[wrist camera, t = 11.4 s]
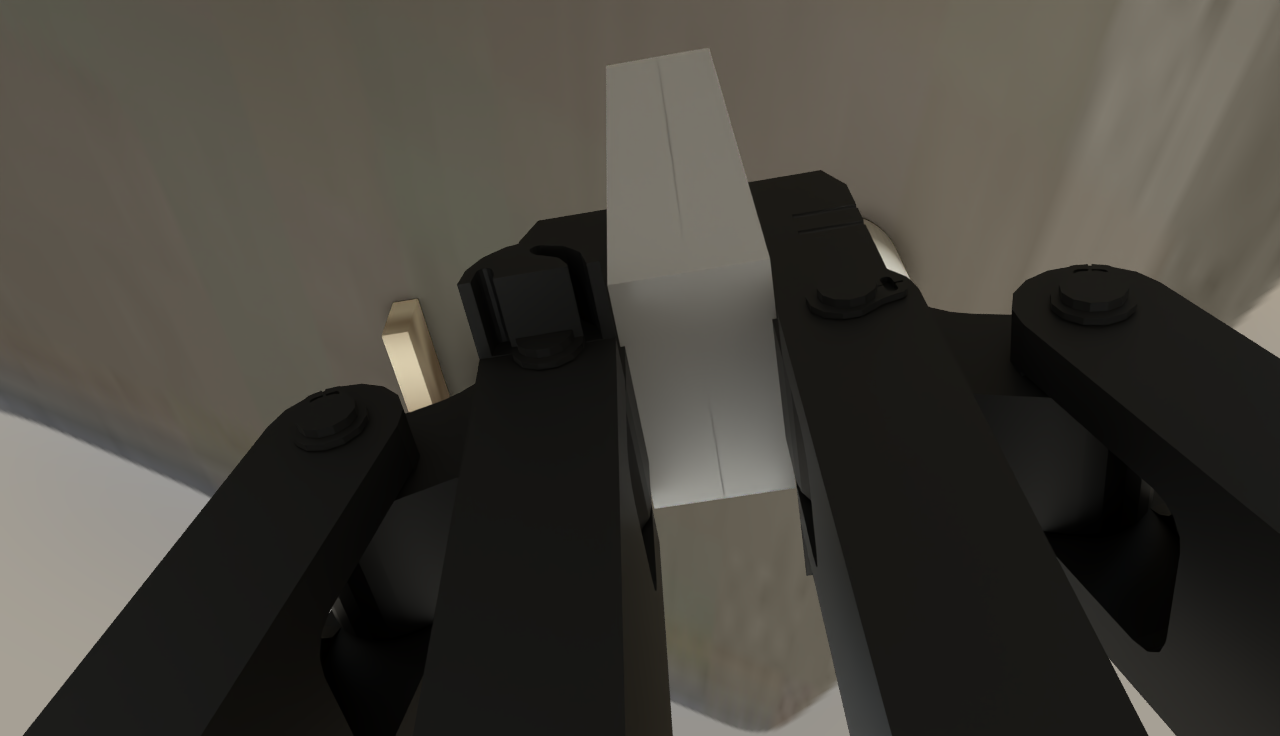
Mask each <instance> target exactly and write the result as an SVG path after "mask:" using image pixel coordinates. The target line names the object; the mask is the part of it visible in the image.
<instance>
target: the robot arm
mask: <svg viewBox="0 0 1280 736" xmlns="http://www.w3.org/2000/svg"><path fill="white" fill-rule="evenodd" d="M606 146H607V209H606V210H600V211H594V212H588V213H582V214H576V215H570V216H564V217H558V218H552V219H546V220H540V221H538V222H537V223H536V224H535V225H534V226H533V227H532V228H531V229H530V230H529V232H528V233H527V234H526V235H525V236H524V237H523V238H522V239H521V241H520V242H519V244H517V245H513V246H509V247H505V248H503V249H501V250H499V251H496V252H494V253H492V254H490V255H488V256H485V257H483V258H482V259H480V260H479V261H478V262H476V263H475V264H474V265H472V266H471V267H470V268H469V269H467V270H466V271H465V272H464V274H463V276H462V277H461V279H460V281H459V282H458V284H457V286H458V289H459V292H460V296H461V299H462V302H463V306H464V309H465V312H466V316H467V319H468V322H469V326H470V329H471V332H472V336H473V339H474V342H475V346H476V349H477V352H478V356H479V359H480V361H479V366H478V372H477V378H476V383H475V384H474V385H472V386H471V387H469V388H467V389H466V390H464V391H462V392H461V393H459V394H456V395H454V396H452V397H449V398H447V399H445V400H442V401H440V402H437V403H434V404H431V405H428V406H426V407H423V408H420V409H417V410H414V411H412V412H409V413H406V414H405V412H404V410H403V407H402V404H401V402H400V399H399V396H398V395H397V394H395V393H394V392H392V391H390V390H389V389H387V388H385V387H384V386H376V385H367V384H357V385H349V386H337V387H333V388H329V389H325V391H324V392H322V391H320V392H317V393H315V394H312V395H310V396H308V397H307V398H305V399H304V400H302V401H301V402H299V403H297V404H295V405H294V406H292V407H290V408H289V409H287V410H285V411H284V412H283V413H282V414H281V415H280V416H279V417H278V418H277V419H276V420H275V421H273V422H272V423H271V424H270V425H269V426H268V427H267V428H266V430H265V431H264V432H263V434H262V435H261V436H260V437H259V439H258V440H257V441H256V442H255V444H254V445H253V446H252V447H251V449H250V450H249V451H248V452H247V454H246V455H245V456H244V457H243V459H242V460H241V461H240V463H239V464H238V465H237V466H236V468H235V469H234V470H233V471H232V473H231V474H230V475H229V476H228V478H227V479H226V480H225V481H224V483H223V484H222V485H221V486H220V488H219V489H218V490H217V491H216V493H215V494H214V495H213V497H212V498H211V499H210V500H209V502H208V503H207V504H206V506H205V507H204V508H203V509H202V510H201V512H200V513H199V514H198V515H197V517H196V518H195V519H194V521H193V522H192V523H191V524H190V526H189V527H188V528H187V530H186V531H185V532H184V533H183V534H182V536H181V537H180V538H179V539H178V541H177V542H176V543H175V544H174V546H173V547H172V548H171V550H170V551H169V552H168V553H167V555H166V556H165V557H164V558H163V560H162V561H161V562H160V563H159V565H158V566H157V567H156V568H155V570H154V571H153V572H152V573H151V575H150V576H149V577H148V578H147V580H146V581H145V582H144V583H143V585H142V586H141V587H140V589H139V590H138V591H137V592H136V594H135V595H134V596H133V597H132V599H131V600H130V601H129V602H128V604H127V605H126V606H125V607H124V609H123V610H122V611H121V612H120V614H119V615H118V616H117V617H116V619H115V620H114V621H113V623H112V624H111V625H110V626H109V628H108V629H107V630H106V631H105V633H104V634H103V635H102V636H101V638H100V639H99V641H97V643H96V644H95V645H94V646H93V648H92V649H91V650H90V652H89V653H88V654H87V655H86V657H85V658H84V659H83V660H82V662H81V663H80V664H79V665H78V667H77V668H76V669H75V670H74V672H73V673H72V674H71V675H70V677H69V678H68V679H67V681H66V682H65V683H64V685H63V686H62V687H61V688H60V690H59V691H58V692H57V693H56V695H55V696H54V697H53V698H52V699H51V701H50V702H49V703H48V705H47V706H46V707H45V708H44V710H43V711H42V712H41V713H40V715H39V716H38V717H37V719H36V720H35V721H34V722H33V723H32V725H31V726H30V727H29V728H28V730H27V731H26V732H25V733H24V735H23V736H673V734H672V720H671V719H672V718H671V704H670V689H669V675H668V660H667V646H666V631H665V617H664V602H663V588H662V573H661V559H660V544H659V538H658V533H657V529H656V524H655V519H654V515H653V510H652V505H651V494H652V499H653V503H654V508H655V509H656V508H663V507H669V506H676V505H683V504H690V503H696V502H703V501H710V500H717V499H723V498H730V497H737V496H744V495H751V494H757V493H764V492H771V491H778V490H784V489H791V488H796V486H795V478H796V485H797V494H798V503H799V512H800V521H801V530H802V539H803V548H804V557H805V566H806V575H807V576H808V575H813V577H814V581H815V586H816V590H817V594H818V599H819V603H820V607H821V612H822V616H823V620H824V625H825V629H826V633H827V638H828V642H829V647H830V651H831V655H832V660H833V664H834V668H835V673H836V677H837V681H838V686H839V690H840V694H841V698H842V703H843V707H844V712H845V716H846V720H847V725H848V729H849V733H850V736H1148V734H1147V732H1146V730H1145V728H1144V726H1143V724H1142V722H1141V721H1140V718H1139V716H1138V715H1137V713H1136V711H1135V709H1134V707H1133V705H1132V703H1131V701H1130V699H1129V697H1128V695H1127V693H1126V691H1125V689H1124V687H1123V685H1122V683H1121V681H1120V680H1119V678H1118V676H1117V674H1116V672H1115V670H1114V668H1113V666H1112V664H1111V662H1110V660H1111V661H1112V662H1113V663H1114V665H1115V666H1116V667H1117V668H1118V669H1119V670H1120V672H1121V673H1122V674H1123V675H1124V676H1125V677H1126V678H1127V680H1128V681H1129V682H1130V683H1131V684H1132V685H1133V686H1134V688H1135V689H1136V690H1137V691H1138V692H1139V693H1140V695H1142V697H1143V698H1144V699H1145V700H1146V701H1147V703H1148V704H1149V705H1150V706H1151V707H1152V708H1153V709H1154V711H1155V712H1156V713H1157V714H1158V715H1159V716H1160V718H1161V719H1162V720H1163V721H1164V722H1165V723H1166V724H1167V725H1168V727H1169V728H1170V729H1171V730H1172V731H1173V732H1174V734H1175V735H1176V736H1280V358H1278V357H1277V356H1275V355H1273V354H1272V353H1270V352H1269V351H1267V350H1266V349H1264V348H1262V347H1261V346H1259V345H1258V344H1256V343H1255V342H1253V341H1251V340H1250V339H1248V338H1247V337H1245V336H1244V335H1242V334H1240V333H1239V332H1237V331H1236V330H1234V329H1233V328H1231V327H1230V326H1228V325H1226V324H1225V323H1223V322H1222V321H1220V320H1219V319H1217V318H1215V317H1214V316H1212V315H1211V314H1209V313H1208V312H1206V311H1204V310H1203V309H1201V308H1200V307H1198V306H1197V305H1195V304H1193V303H1192V302H1190V301H1189V300H1187V299H1186V298H1184V297H1182V296H1181V295H1179V294H1178V293H1176V292H1175V291H1173V290H1171V289H1170V288H1168V287H1167V286H1165V285H1164V284H1162V283H1160V282H1158V281H1156V280H1154V279H1152V278H1149V277H1147V276H1145V275H1143V274H1140V273H1138V272H1135V271H1130V270H1125V269H1120V268H1115V267H1111V266H1108V265H1096V264H1092V266H1088V264H1084V265H1073V266H1070V267H1066V268H1060V269H1055V270H1049V271H1046V272H1044V273H1041V274H1039V275H1037V276H1035V277H1033V278H1030V279H1028V280H1026V281H1025V282H1024V283H1023V284H1022V285H1021V286H1020V287H1019V288H1018V289H1017V290H1016V291H1015V292H1014V293H1013V302H1012V315H998V314H968V313H956V312H948V311H944V310H939V309H935V308H930V307H928V306H927V304H926V302H925V300H924V298H923V296H922V294H921V292H920V290H919V288H918V287H917V286H916V285H915V284H914V283H913V282H912V281H911V280H910V279H909V278H908V277H907V276H904V275H902V274H899V273H897V272H894V271H892V270H889V269H887V268H886V266H885V263H884V261H883V259H882V257H881V255H880V253H879V251H878V249H877V247H876V245H875V243H874V241H873V239H872V237H871V235H870V232H869V230H868V228H867V226H866V224H864V220H863V218H862V216H861V214H860V212H859V210H858V208H856V203H855V201H854V199H853V197H852V195H851V193H850V191H849V189H848V187H847V185H846V184H845V183H843V182H841V181H839V180H837V179H836V178H834V177H832V176H830V175H829V174H827V173H825V172H823V171H821V170H819V171H813V172H808V173H802V174H796V175H790V176H784V177H778V178H772V179H766V180H760V181H754V182H748V181H747V177H746V174H745V170H744V167H743V164H742V160H741V157H740V153H739V150H738V146H737V143H736V139H735V136H734V132H733V129H732V125H731V122H730V119H729V115H728V112H727V108H726V105H725V101H724V98H723V94H722V91H721V87H720V84H719V80H718V77H717V73H716V70H715V67H714V63H713V60H712V56H711V53H710V49H709V48H704V49H698V50H692V51H687V52H681V53H675V54H670V55H664V56H658V57H653V58H647V59H641V60H636V61H630V62H625V63H619V64H613V65H608V66H606ZM794 474H795V477H794ZM331 609H332V610H331ZM330 610H331V611H330ZM329 612H330V613H329ZM1109 659H1110V660H1109Z"/></svg>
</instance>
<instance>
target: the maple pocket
mask: <svg viewBox="0 0 1280 736" xmlns="http://www.w3.org/2000/svg"><path fill="white" fill-rule="evenodd" d="M382 338H383V341H384V344H385V347H386V349H387V352H388V355H389V358H390V361H391V363H392V366H393V369H394V372H395V375H396V377H397V380H398V383H399V386H400V389H401V391H402V394H403V397H404V400H405V402H406V405H407V408H408V411H409V412H412V411H414V410H417V409H420V408H423V407H426V406H428V405H431V404H434V403H437V402H440V401H442V400H445V399H447V398H449V397H450V395H449V392H448V389H447V386H446V383H445V380H444V377H443V374H442V371H441V368H440V365H439V362H438V359H437V356H436V353H435V350H434V347H433V343H432V340H431V337H430V334H429V331H428V328H427V325H426V322H425V319H424V316H423V313H422V310H421V307H420V304H419V301H418V299H413V300H407V301H400V302H394V303H393V304H392V307H391V310H390V313H389V316H388V319H387V322H386V325H385V328H384V331H383V334H382Z"/></svg>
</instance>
